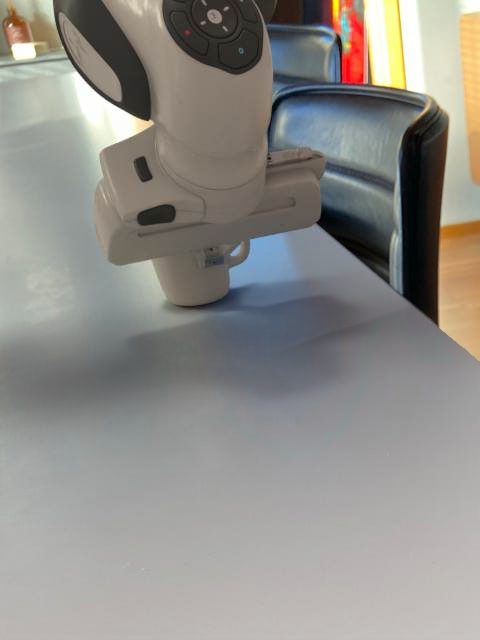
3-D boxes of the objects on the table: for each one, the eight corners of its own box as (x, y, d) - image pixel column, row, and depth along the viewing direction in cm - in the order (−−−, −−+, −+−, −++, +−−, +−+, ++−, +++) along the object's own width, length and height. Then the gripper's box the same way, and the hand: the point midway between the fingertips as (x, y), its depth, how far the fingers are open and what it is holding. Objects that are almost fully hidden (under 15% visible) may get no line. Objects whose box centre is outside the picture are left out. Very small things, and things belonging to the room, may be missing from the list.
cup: (237, 275, 109) (220, 196, 105) (277, 288, 104) (261, 205, 100) (146, 302, 104) (124, 220, 99) (183, 317, 99) (162, 232, 94)
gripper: (315, 114, 89) (301, 211, 102) (78, 153, 83) (95, 252, 96) (341, 176, 89) (323, 266, 102) (104, 221, 82) (118, 311, 95)
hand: (211, 260), depth 99 cm, fingers closed
